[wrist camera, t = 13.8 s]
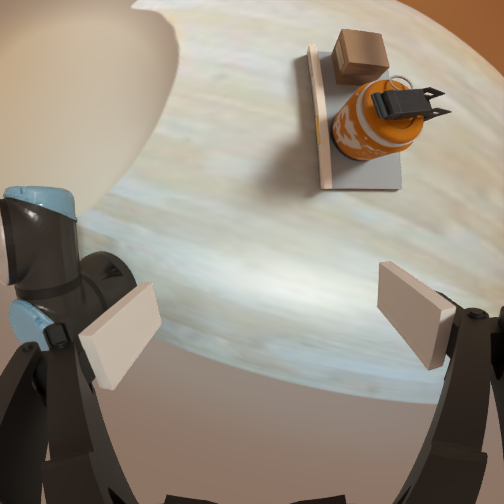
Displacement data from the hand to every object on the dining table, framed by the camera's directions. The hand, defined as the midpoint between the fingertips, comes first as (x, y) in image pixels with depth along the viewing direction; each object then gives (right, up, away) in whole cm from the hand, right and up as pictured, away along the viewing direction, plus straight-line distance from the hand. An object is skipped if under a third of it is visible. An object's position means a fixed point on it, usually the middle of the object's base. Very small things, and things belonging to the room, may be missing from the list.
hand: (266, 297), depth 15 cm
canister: (+17, +21, +23) cm, 36 cm away
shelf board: (+16, +24, +24) cm, 38 cm away
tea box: (+16, +32, +21) cm, 41 cm away
